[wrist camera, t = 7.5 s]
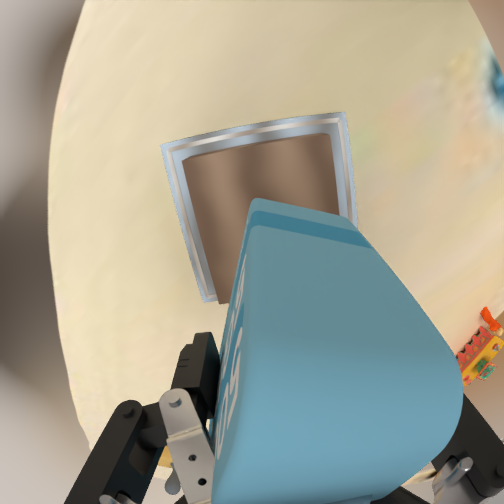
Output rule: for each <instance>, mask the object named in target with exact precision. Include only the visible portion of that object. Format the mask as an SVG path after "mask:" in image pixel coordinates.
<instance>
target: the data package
mask: <svg viewBox="0 0 504 504" xmlns="http://www.w3.org/2000/svg"><path fill="white" fill-rule="evenodd" d="M219 357H220V369H219V378H218V386H217V394H216V403H215V411H214V419H210V424H209V434H210V437H211V440H212V441H211V444H212V446H213V451H214V457H215V460H214V471H213V482H212V493H211V504H325V503H331V502H336V501H341V500H346V499H351V498H356V497H360V496H365V495H370V494H372V498H371V501H374V500H378V499H381V498H384V497H385V496H387V495H388V494H389V493H391V492H392V491H394V490H395V489H396V488H398V487H399V486H400V485H402V484H403V483H404V482H406V481H407V480H408V479H410V478H411V477H412V476H414V475H415V474H416V473H417V472H418V471H420V470H421V469H422V468H423V467H424V466H426V465H427V464H428V463H429V462H430V461H432V460H433V459H434V458H435V457H436V456H437V455H438V454H439V453H440V452H441V451H442V450H443V449H444V448H445V446H446V445H447V444H448V442H449V441H450V439H451V437H452V436H453V434H454V432H455V429H456V427H457V425H458V422H459V418H460V415H461V410H462V404H463V381H462V374H461V370H460V367H459V364H458V361H457V359H456V357H455V355H454V353H453V352H452V350H451V349H450V347H449V346H448V344H447V343H446V341H445V340H444V338H443V337H442V336H441V334H440V333H439V331H438V330H437V329H436V327H435V326H434V324H433V323H432V322H431V320H430V319H429V317H428V316H427V315H426V313H425V312H424V311H423V309H422V308H421V307H420V305H419V304H418V303H417V301H416V300H415V299H414V297H413V296H412V295H411V294H410V292H409V291H408V290H407V288H406V287H405V286H404V285H403V283H402V282H401V281H400V280H399V278H398V277H397V276H396V275H395V273H394V272H393V271H392V270H391V268H390V267H389V266H388V265H387V263H386V262H385V261H384V260H383V259H382V257H381V256H380V255H379V254H378V253H377V251H376V250H375V249H374V248H373V247H372V246H371V244H370V243H369V242H368V241H367V240H366V239H365V237H364V236H363V235H362V234H361V233H360V232H359V231H358V229H357V228H356V227H355V226H354V225H353V224H352V223H351V222H350V220H349V219H347V218H346V217H343V216H339V215H335V214H330V213H326V212H322V211H317V210H313V209H308V208H304V207H299V206H295V205H290V204H285V203H281V202H276V201H271V200H266V199H261V198H255V199H253V200H252V202H251V204H250V207H249V211H248V216H247V220H246V225H245V230H244V234H243V239H242V244H241V249H240V254H239V259H238V264H237V269H236V274H235V278H234V283H233V288H232V293H231V298H230V303H229V308H228V313H227V318H226V323H225V329H224V334H223V339H222V344H221V349H220V354H219Z"/></svg>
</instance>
